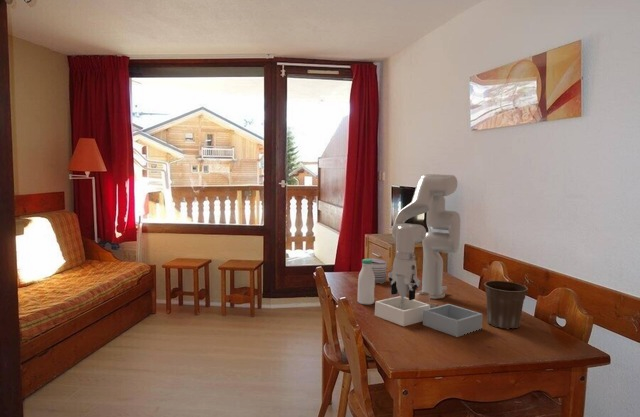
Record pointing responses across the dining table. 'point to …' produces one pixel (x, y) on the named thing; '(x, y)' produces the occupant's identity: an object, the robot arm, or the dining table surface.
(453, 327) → the frame
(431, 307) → the walnut block
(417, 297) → the terracotta pot
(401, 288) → the chalice
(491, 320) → the plant pot
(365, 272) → the milk bottle
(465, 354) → the dining table surface
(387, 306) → the frame
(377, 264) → the can
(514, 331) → the dining table surface
